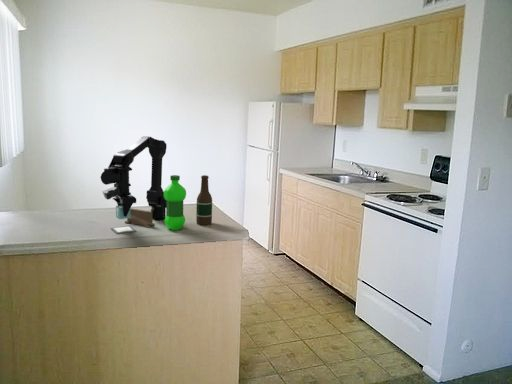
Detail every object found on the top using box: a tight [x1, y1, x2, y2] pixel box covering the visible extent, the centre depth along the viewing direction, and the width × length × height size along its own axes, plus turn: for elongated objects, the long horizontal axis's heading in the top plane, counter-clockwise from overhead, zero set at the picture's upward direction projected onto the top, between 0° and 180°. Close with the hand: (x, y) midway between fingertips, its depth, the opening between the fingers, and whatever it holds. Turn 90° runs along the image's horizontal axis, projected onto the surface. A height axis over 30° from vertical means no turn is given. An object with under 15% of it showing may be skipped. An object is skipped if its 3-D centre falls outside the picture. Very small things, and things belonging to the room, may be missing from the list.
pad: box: [110, 225, 137, 235], centre depth 203 cm, size 9×9×1 cm
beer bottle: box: [195, 174, 213, 227], centre depth 217 cm, size 8×8×24 cm
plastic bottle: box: [163, 174, 187, 231], centre depth 207 cm, size 10×10×25 cm
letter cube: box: [115, 205, 130, 220], centre depth 201 cm, size 5×5×5 cm
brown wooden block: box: [124, 207, 156, 229], centre depth 213 cm, size 5×14×7 cm, turn 64°
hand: (123, 215), depth 202 cm, fingers closed on letter cube, 5 cm apart
